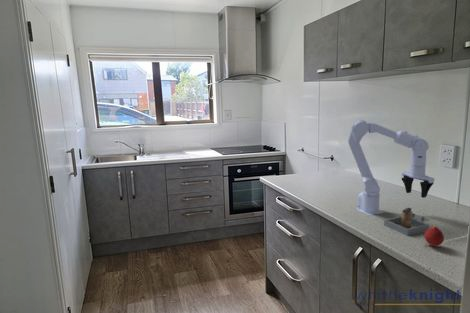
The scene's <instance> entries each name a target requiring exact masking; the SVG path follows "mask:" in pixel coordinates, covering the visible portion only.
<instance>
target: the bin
mask: <svg viewBox="0 0 470 313" xmlns="http://www.w3.org/2000/svg"><path fill="white" fill-rule="evenodd" d="M399 216H400V217H398V216H397V217H393V218H392V217H391V218H387V219H384V222H383V226H385V227H387V228H389V229H392V230H393V231H395V232H398V233H400V234H403V235H405V236H406V237H407V236H412V235H416V234H420V233H425V232H426V231H427V230H428V229H429V226H430V225H429V224H427V223H425V222H420V221H417V220H415V219H412V221H411V226H413V227H411V228H409V229H407V228H404V227H402V226H401V224H400V223H401V219H402V215H399Z"/></svg>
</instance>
